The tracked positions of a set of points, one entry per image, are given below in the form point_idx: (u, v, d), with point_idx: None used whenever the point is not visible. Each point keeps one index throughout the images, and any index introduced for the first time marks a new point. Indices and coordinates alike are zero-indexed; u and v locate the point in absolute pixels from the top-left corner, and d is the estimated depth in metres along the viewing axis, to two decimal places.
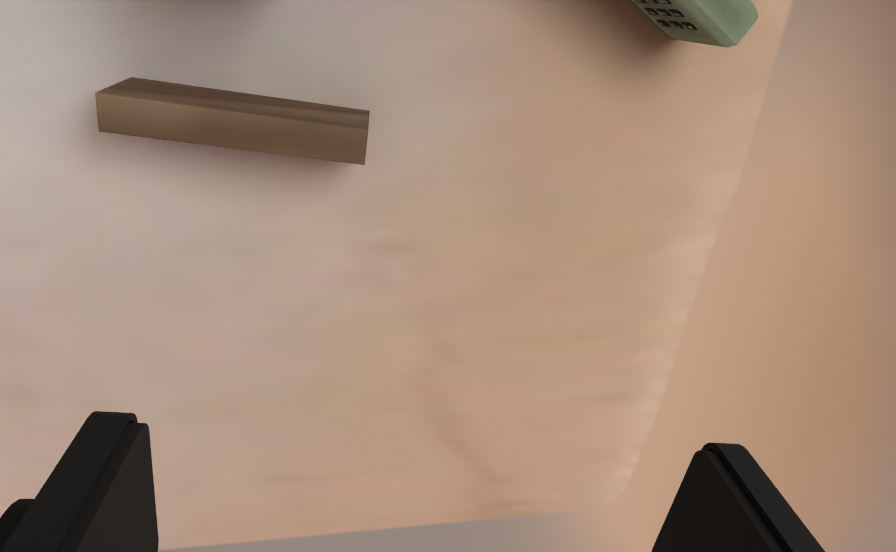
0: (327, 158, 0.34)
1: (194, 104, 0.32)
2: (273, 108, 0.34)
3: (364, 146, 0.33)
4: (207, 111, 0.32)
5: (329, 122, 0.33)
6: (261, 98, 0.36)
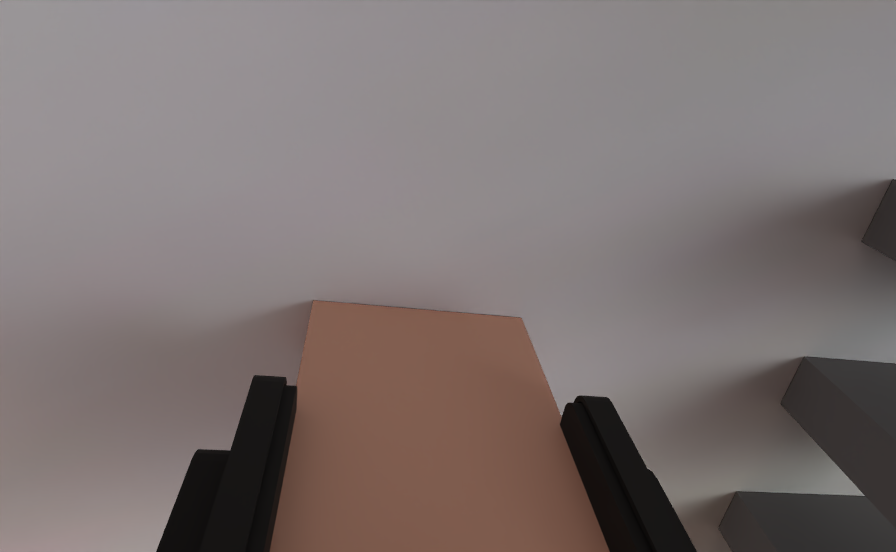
0: None
1: None
2: None
3: None
4: None
5: None
6: None
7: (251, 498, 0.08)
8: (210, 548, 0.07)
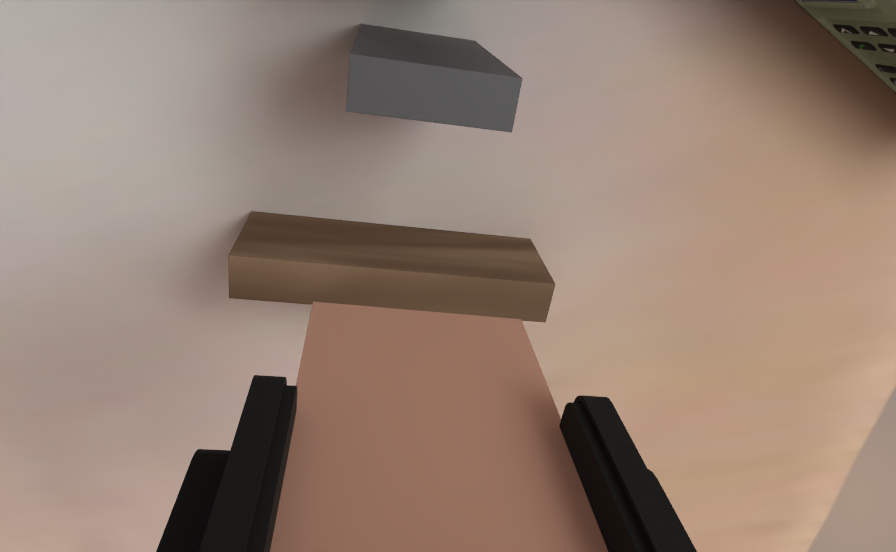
0: (502, 317, 0.27)
1: (345, 261, 0.26)
2: (432, 253, 0.28)
3: (548, 302, 0.27)
4: (364, 271, 0.25)
5: (506, 274, 0.27)
6: (408, 232, 0.29)
7: (251, 498, 0.08)
8: (210, 548, 0.07)
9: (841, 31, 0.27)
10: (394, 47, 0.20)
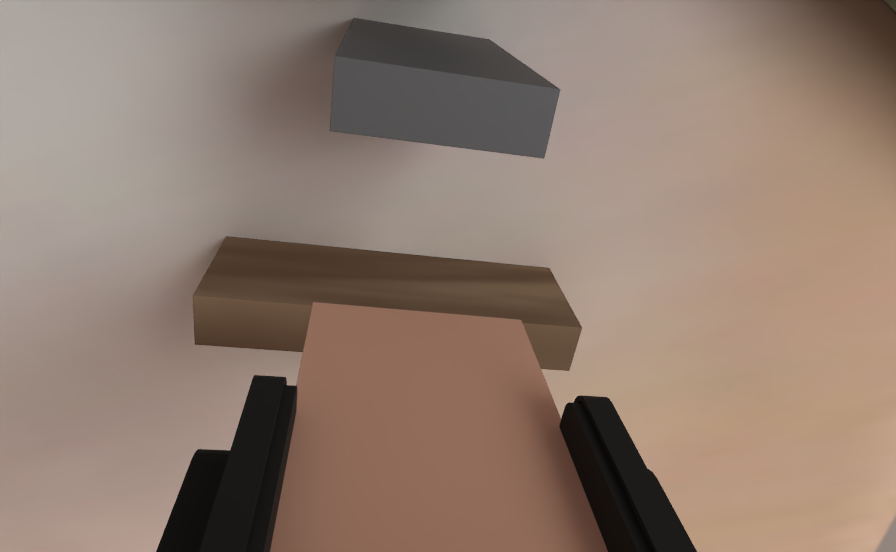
0: None
1: (334, 300, 0.22)
2: (437, 289, 0.23)
3: (573, 348, 0.23)
4: None
5: (524, 315, 0.23)
6: (408, 262, 0.25)
7: (251, 498, 0.08)
8: (210, 548, 0.07)
9: None
10: (393, 47, 0.15)
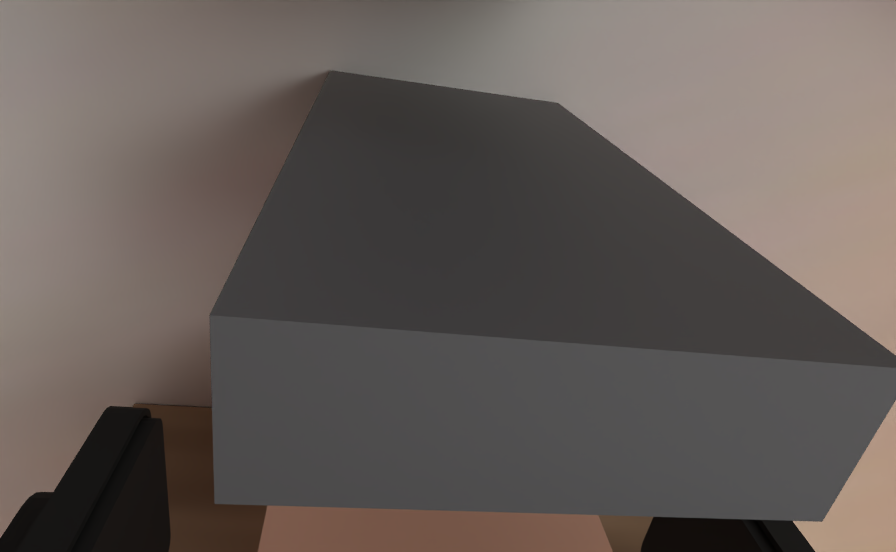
0: None
1: None
2: None
3: None
4: None
5: None
6: None
7: None
8: None
9: None
10: (404, 182, 0.07)
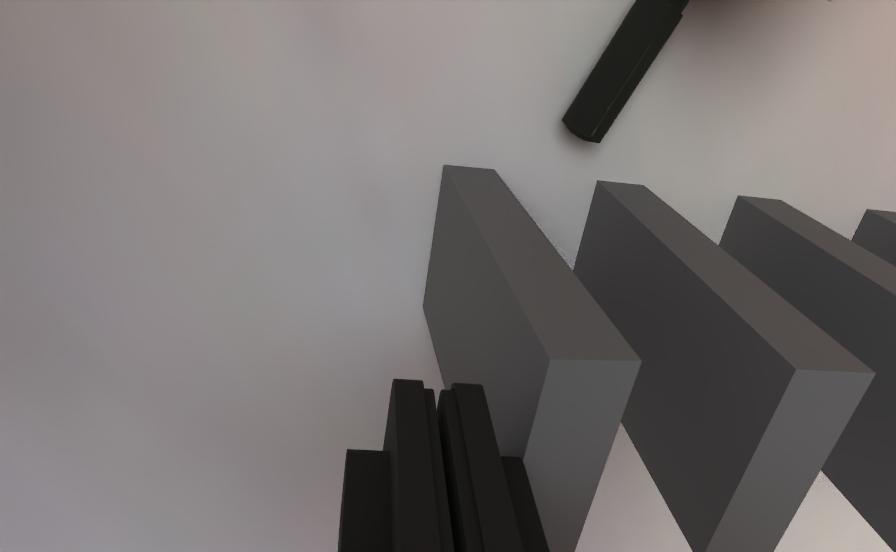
0: None
1: None
2: None
3: None
4: None
5: None
6: None
7: (429, 495, 0.08)
8: (409, 542, 0.07)
9: None
10: None
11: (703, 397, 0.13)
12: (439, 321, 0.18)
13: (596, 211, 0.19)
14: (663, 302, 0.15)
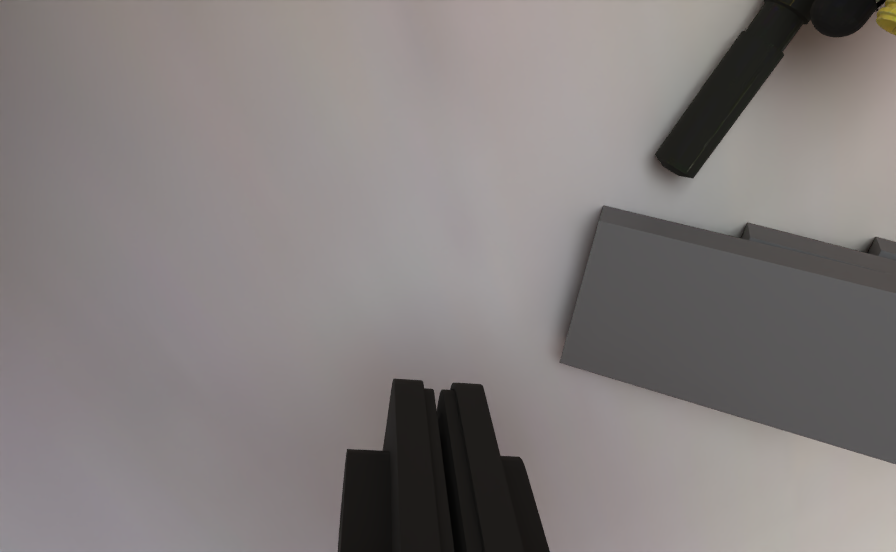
0: None
1: None
2: None
3: None
4: None
5: None
6: None
7: (429, 495, 0.08)
8: (409, 541, 0.07)
9: None
10: None
11: None
12: (649, 359, 0.18)
13: None
14: None
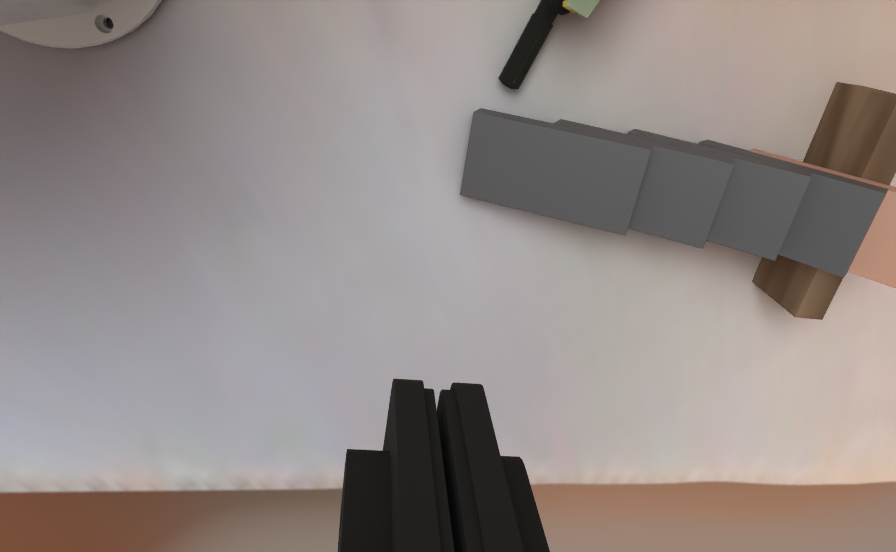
0: None
1: None
2: None
3: None
4: None
5: (873, 133, 0.34)
6: None
7: (429, 495, 0.08)
8: (409, 541, 0.07)
9: None
10: (795, 237, 0.35)
11: (687, 192, 0.34)
12: (504, 188, 0.35)
13: None
14: None
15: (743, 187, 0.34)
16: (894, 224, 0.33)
